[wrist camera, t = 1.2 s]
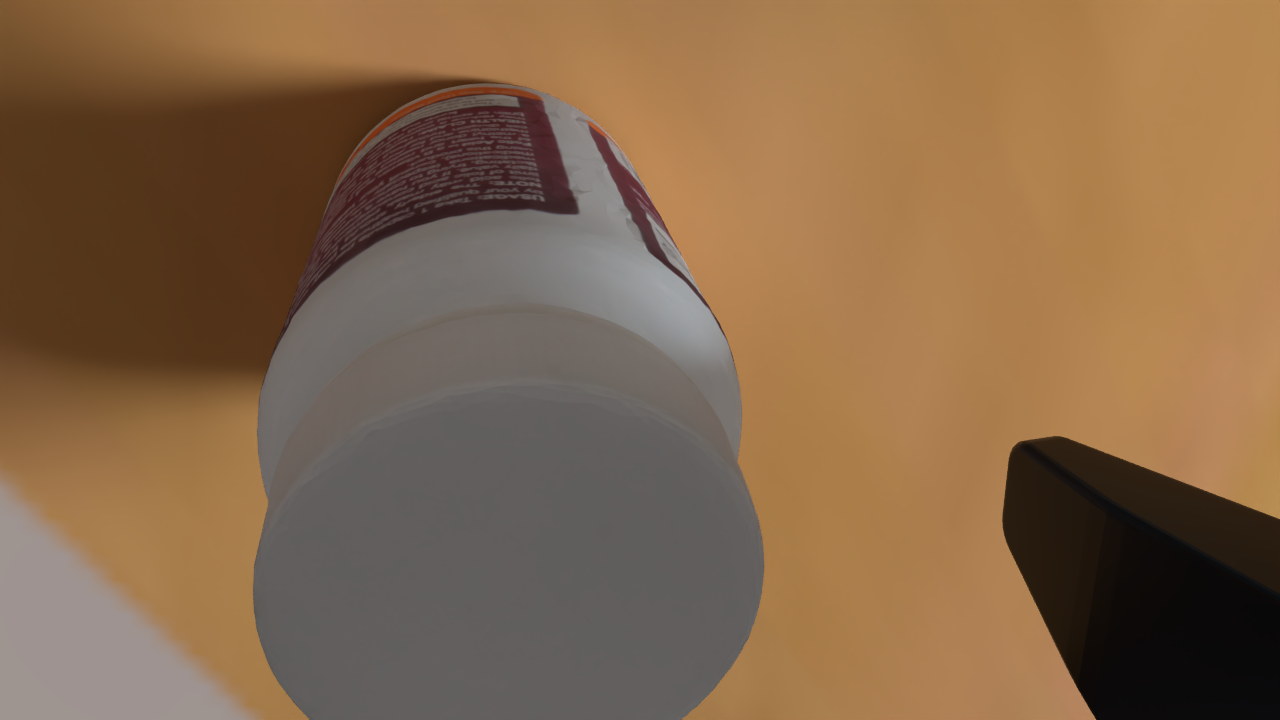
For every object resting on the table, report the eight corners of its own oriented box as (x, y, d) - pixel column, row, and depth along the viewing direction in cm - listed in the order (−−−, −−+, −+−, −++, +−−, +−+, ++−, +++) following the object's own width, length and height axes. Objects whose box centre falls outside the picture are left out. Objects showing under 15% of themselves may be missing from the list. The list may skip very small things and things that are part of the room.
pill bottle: (287, 321, 15) (121, 763, 8) (392, 20, 14) (305, 229, 6) (575, 416, 17) (659, 863, 10) (702, 155, 15) (922, 451, 8)
